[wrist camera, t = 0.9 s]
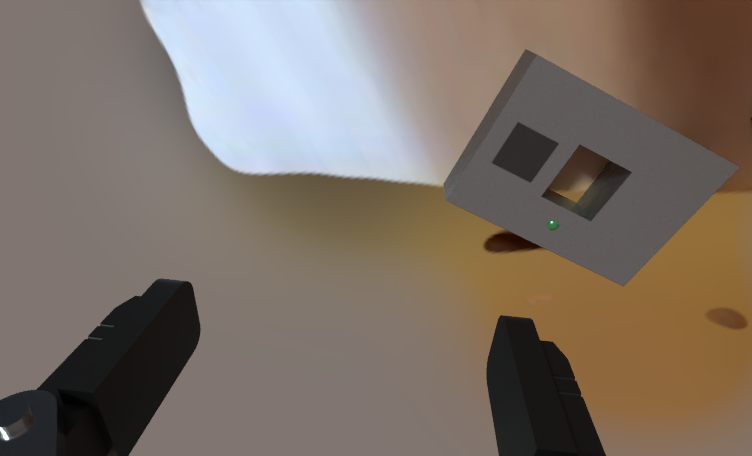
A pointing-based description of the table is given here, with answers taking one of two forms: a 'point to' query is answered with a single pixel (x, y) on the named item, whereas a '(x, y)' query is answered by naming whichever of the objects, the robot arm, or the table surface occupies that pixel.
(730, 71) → the table surface
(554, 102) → the port panel
